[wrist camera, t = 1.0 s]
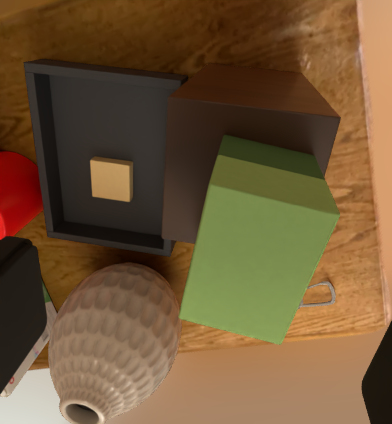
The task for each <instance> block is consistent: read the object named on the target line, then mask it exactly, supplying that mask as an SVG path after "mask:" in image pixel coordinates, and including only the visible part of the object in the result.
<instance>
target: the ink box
mask: <svg viewBox="0 0 392 424" xmlns="http://www.w3.org/2000/svg"><path fill="white" fill-rule="evenodd" d="M42 285H43V292H44V298H45V305H46V312H47V325H46V328H45V330H44V332H43V334H42V335H41V336H40V338H39V339H38V341H37V342H36V344H35V345H34V347H33V348H32V349H31V351H30V352H29V354H28V355H27V357H26V358H25V360H24V361H23V362H22V364H21V365H20V367H19V368H18V370H17V371H16V373H15V374H14V376H13V377H12V378H11V380H10V381H9V383H8V384H7V386H6V387H5V389H4V390H3V391H2V393H1V394H0V396H1V397H8V396H9V395H10V394H11V393H12V392H13V390H14V389H15V387H16V386H17V385H18V383H19V382H20V380H21V378H22V377H23V376H24V374H25V373H26V372H27V370H28V369H29V367H30V366H31V365H32V363H33V362H34V360H35V359H36V357H37V356H38V355H39V353H40V352H41V350H42V349H43V348H44V346H45V345H46V343H47V342H48V340H49V339H50V334H51V330H52V326H53V323H54V321H55V318H56V316H57V313H56V310H55V308H54V306H53V304H52V301H51V299H50V297H49V295H48V292H47V290H46V288H45V286H44V283H43V281H42Z"/></svg>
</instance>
